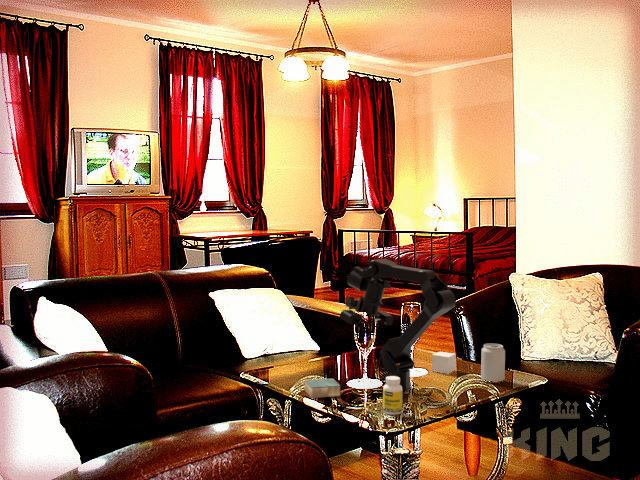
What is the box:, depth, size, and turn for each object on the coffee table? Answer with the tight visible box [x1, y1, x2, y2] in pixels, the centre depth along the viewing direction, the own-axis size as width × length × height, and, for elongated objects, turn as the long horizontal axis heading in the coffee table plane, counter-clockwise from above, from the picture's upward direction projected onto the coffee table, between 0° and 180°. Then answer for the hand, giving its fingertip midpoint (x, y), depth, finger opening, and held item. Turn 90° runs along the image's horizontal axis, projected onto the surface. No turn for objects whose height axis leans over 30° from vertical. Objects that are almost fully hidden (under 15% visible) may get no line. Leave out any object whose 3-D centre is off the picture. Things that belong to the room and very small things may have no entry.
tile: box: [304, 378, 341, 399], centre depth 211 cm, size 4×8×9 cm
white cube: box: [431, 351, 457, 375], centre depth 237 cm, size 6×6×6 cm
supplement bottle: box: [382, 376, 403, 416], centre depth 193 cm, size 5×5×10 cm
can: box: [480, 343, 506, 382], centre depth 224 cm, size 8×8×12 cm
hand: (360, 342), depth 223 cm, fingers closed
